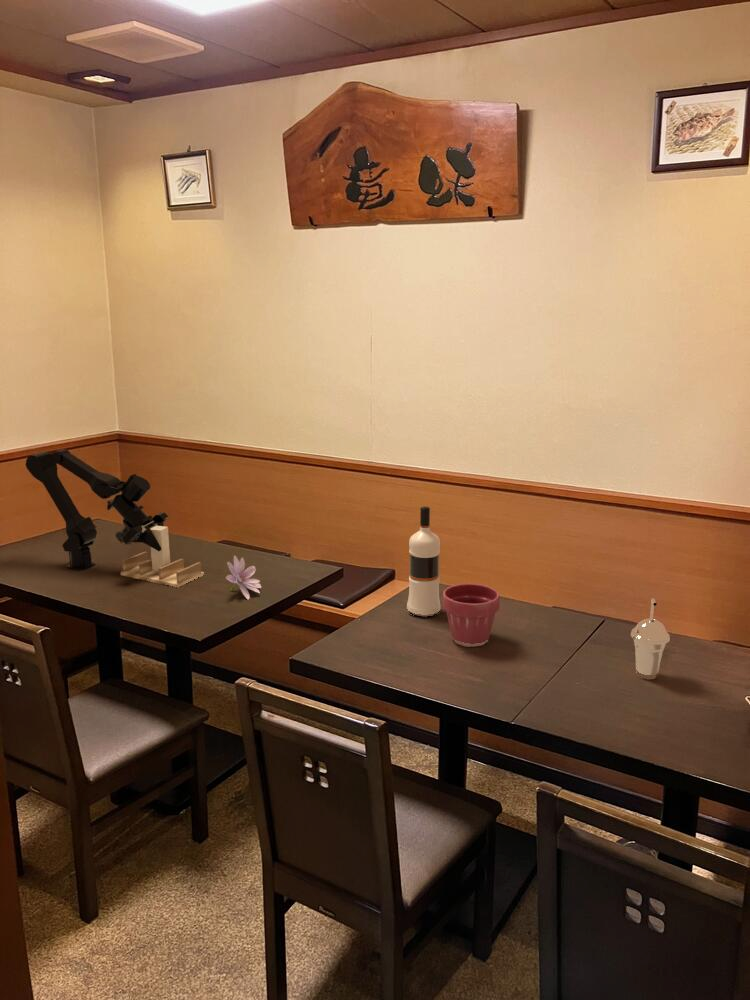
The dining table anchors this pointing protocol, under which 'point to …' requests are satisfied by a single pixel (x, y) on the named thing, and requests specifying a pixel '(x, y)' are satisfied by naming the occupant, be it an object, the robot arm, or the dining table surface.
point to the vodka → (424, 568)
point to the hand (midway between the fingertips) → (164, 548)
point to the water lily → (243, 577)
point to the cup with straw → (649, 643)
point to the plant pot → (470, 611)
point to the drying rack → (160, 571)
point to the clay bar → (163, 555)
